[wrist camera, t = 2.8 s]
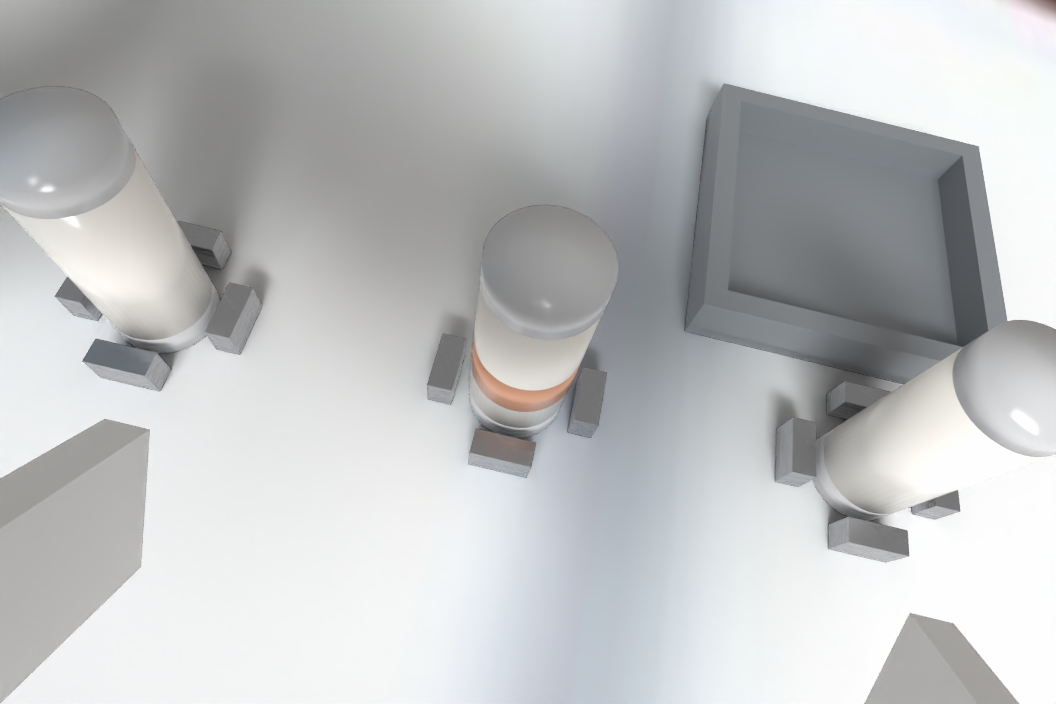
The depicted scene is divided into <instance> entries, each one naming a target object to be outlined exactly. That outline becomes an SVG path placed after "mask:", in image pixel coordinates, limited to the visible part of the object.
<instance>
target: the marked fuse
mask: <svg viewBox="0 0 1056 704" xmlns="http://www.w3.org/2000/svg"><path fill="white" fill-rule="evenodd" d="M618 273H619V263H618V257H617V253H616V251H615V248H614V246H613V244H612V242H611V240H610V239H609V237H608V236H607V234H606V233H605V232H604V231H603V230H602V229H601V228H600V227H599V226H598V225H597V224H596V223H595V222H593V221H592V220H590V219H589V218H588V217H586V216H584V215H582V214H580V213H578V212H576V211H573V210H571V209H567V208H564V207H559V206H553V205H535V206H529V207H525V208H521V209H518V210H516V211H513V212H511V213H510V214H508V215H506V216H505V217H503V218H502V219H501V220H499V221H498V222H497V223H496V224H495V225H494V227H493V228H492V229H491V231H490V232H489V234H488V236H487V238H486V241H485V243H484V248H483V254H482V264H481V273H480V283H479V293H478V302H477V312H476V321H475V329H474V335H473V345H472V355H471V369H470V379H469V390H468V396H469V402H470V406H471V408H472V411H473V413H474V414H475V416H476V417H477V419H478V420H479V421H480V422H481V423H482V424H483V425H484V426H485V427H486V428H488V429H489V430H491V431H492V432H494V433H497V434H501V435H506V436H510V437H514V438H522V437H528V436H532V435H535V434H537V433H539V432H541V431H542V430H544V429H545V428H547V427H548V426H549V425H550V424H551V423H552V422H553V420H554V419H555V417H556V416H557V414H558V412H559V409H560V407H561V405H562V403H563V401H564V398H565V396H566V394H567V392H568V390H569V388H570V386H571V384H572V382H573V380H574V378H575V375H576V373H577V371H578V369H579V367H580V364H581V362H582V360H583V357H584V354H585V352H586V350H587V348H588V345H589V343H590V341H591V339H592V336H593V334H594V332H595V330H596V328H597V325H598V323H599V321H600V319H601V317H602V314H603V312H604V310H605V308H606V306H607V303H608V301H609V299H610V297H611V295H612V292H613V290H614V288H615V285H616V283H617V279H618Z"/></svg>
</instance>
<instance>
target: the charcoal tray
mask: <svg viewBox="0 0 1056 704" xmlns="http://www.w3.org/2000/svg"><path fill="white" fill-rule="evenodd" d="M1004 322H1007V316H1006V310H1005V304H1004V298H1003V292H1002V286H1001V280H1000V273H999V267H998V261H997V255H996V249H995V243H994V237H993V231H992V225H991V219H990V213H989V207H988V201H987V195H986V189H985V183H984V176H983V170H982V164H981V158H980V152H979V146H975V145H971V144H967V143H963V142H959V141H955V140H951V139H946V138H942V137H938V136H934V135H930V134H926V133H922V132H918V131H914V130H910V129H906V128H902V127H898V126H894V125H890V124H886V123H882V122H878V121H874V120H870V119H866V118H862V117H858V116H854V115H850V114H846V113H841V112H837V111H833V110H829V109H825V108H821V107H817V106H813V105H809V104H805V103H801V102H797V101H793V100H789V99H785V98H781V97H777V96H773V95H769V94H765V93H761V92H757V91H753V90H749V89H745V88H741V87H736V86H732V85H728V84H723V86H722V88H721V91H720V93H719V95H718V97H717V99H716V101H715V103H714V105H713V107H712V109H711V111H710V113H709V116H708V118H707V121H706V130H705V140H704V150H703V159H702V169H701V179H700V188H699V198H698V208H697V217H696V227H695V237H694V246H693V256H692V265H691V275H690V285H689V294H688V304H687V314H686V323H685V332H689V333H694V334H698V335H702V336H706V337H710V338H714V339H719V340H723V341H727V342H731V343H735V344H739V345H743V346H748V347H752V348H756V349H760V350H764V351H768V352H773V353H777V354H781V355H785V356H789V357H793V358H798V359H802V360H806V361H810V362H814V363H818V364H822V365H827V366H831V367H835V368H839V369H843V370H847V371H852V372H856V373H860V374H864V375H868V376H872V377H876V378H881V379H885V380H889V381H893V382H897V383H901V384H905V383H907V382H908V381H910V380H911V379H913V378H915V377H916V376H918V375H919V374H921V373H923V372H924V371H926V370H927V369H929V368H931V367H932V366H934V365H935V364H937V363H938V362H940V361H942V360H943V359H945V358H946V357H948V356H950V355H951V354H953V353H954V352H956V351H958V350H959V349H961V348H962V347H964V346H965V345H967V344H969V343H970V342H972V341H973V340H975V339H977V338H978V337H980V336H981V335H983V334H985V333H986V332H988V331H989V330H991V329H992V328H994V327H996V326H997V325H999V324H1001V323H1004Z"/></svg>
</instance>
